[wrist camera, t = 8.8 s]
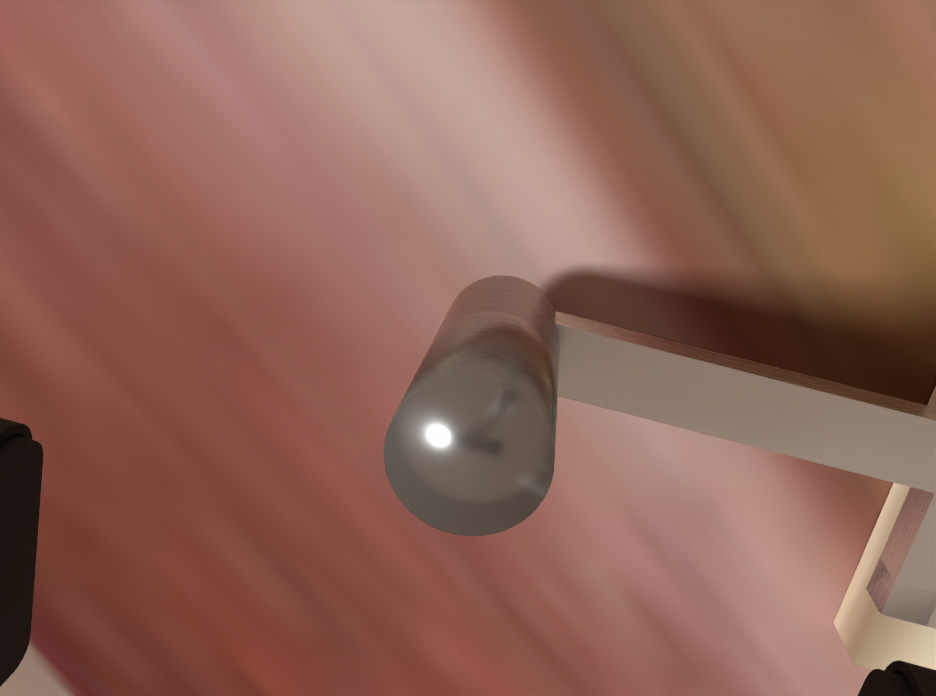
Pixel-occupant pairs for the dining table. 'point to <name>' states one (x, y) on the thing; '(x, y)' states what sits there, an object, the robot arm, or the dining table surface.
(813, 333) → the dining table surface
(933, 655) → the tunnel
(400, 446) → the slider
